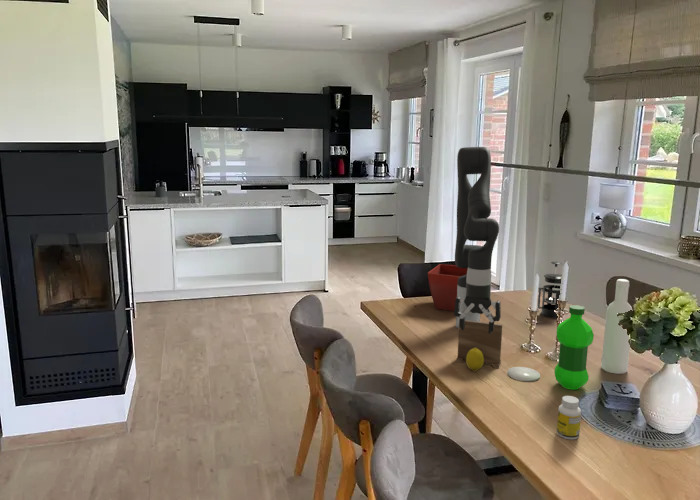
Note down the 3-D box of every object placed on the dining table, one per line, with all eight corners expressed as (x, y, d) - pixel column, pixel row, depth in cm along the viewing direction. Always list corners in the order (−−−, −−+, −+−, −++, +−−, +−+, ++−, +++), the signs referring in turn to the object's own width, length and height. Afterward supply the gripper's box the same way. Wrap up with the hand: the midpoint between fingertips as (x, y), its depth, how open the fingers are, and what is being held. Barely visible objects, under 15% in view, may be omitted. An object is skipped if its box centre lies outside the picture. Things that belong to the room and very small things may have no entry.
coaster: (509, 366, 187) (509, 365, 187) (541, 371, 183) (541, 369, 183) (505, 378, 178) (505, 376, 178) (538, 383, 174) (538, 381, 174)
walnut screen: (459, 356, 196) (460, 317, 193) (500, 362, 190) (503, 322, 188) (456, 361, 191) (457, 322, 188) (498, 368, 186) (501, 327, 183)
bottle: (616, 375, 180) (625, 284, 174) (595, 367, 187) (603, 278, 181) (632, 371, 184) (642, 281, 178) (611, 362, 191) (620, 276, 185)
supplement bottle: (552, 429, 147) (555, 394, 145) (572, 428, 148) (576, 393, 146) (562, 440, 142) (565, 404, 140) (583, 439, 142) (586, 403, 140)
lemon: (483, 375, 180) (484, 351, 179) (465, 373, 181) (466, 350, 180) (482, 368, 186) (484, 345, 184) (465, 367, 187) (466, 344, 185)
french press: (560, 311, 246) (564, 259, 242) (569, 318, 237) (573, 264, 233) (533, 311, 246) (537, 259, 242) (541, 318, 237) (545, 264, 232)
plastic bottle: (571, 376, 179) (577, 300, 174) (596, 390, 170) (603, 310, 165) (545, 381, 176) (551, 303, 171) (569, 395, 166) (576, 314, 161)
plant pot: (469, 316, 240) (470, 277, 236) (425, 310, 248) (426, 272, 244) (479, 304, 257) (481, 267, 253) (438, 299, 265) (439, 263, 261)
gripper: (503, 281, 178) (500, 330, 182) (458, 276, 184) (456, 324, 187) (500, 286, 172) (497, 337, 175) (453, 282, 177) (451, 331, 180)
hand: (476, 330), depth 181 cm, fingers open, 8 cm apart
